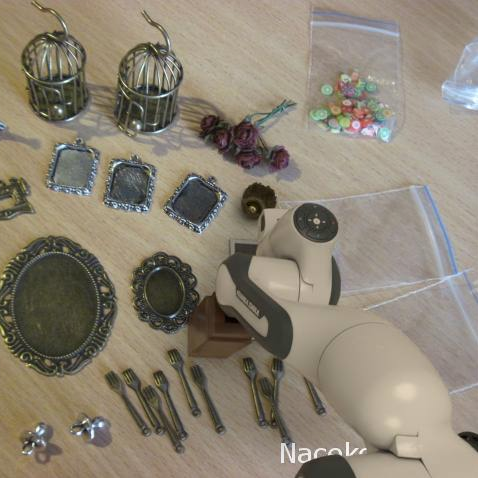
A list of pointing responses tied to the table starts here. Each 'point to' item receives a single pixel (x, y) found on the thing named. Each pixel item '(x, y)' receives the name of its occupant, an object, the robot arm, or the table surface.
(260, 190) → the cup
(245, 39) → the table surface
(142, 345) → the table surface
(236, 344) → the pen stand
